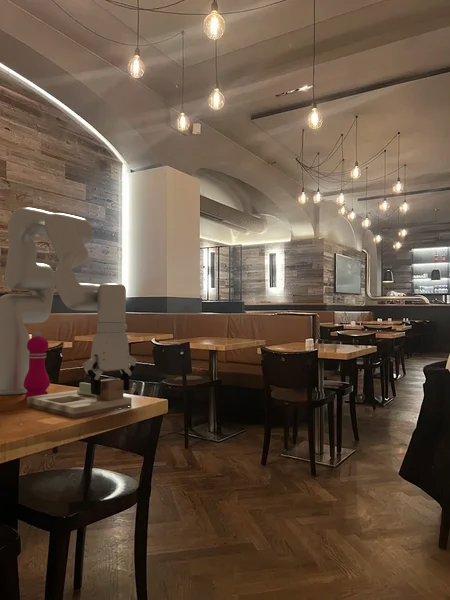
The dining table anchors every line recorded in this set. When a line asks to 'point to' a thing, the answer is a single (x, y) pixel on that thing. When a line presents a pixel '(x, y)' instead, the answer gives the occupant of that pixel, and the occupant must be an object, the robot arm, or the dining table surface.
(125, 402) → the board
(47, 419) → the dining table surface
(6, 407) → the dining table surface
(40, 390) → the pepper mill
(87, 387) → the lid
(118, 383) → the walnut cube
